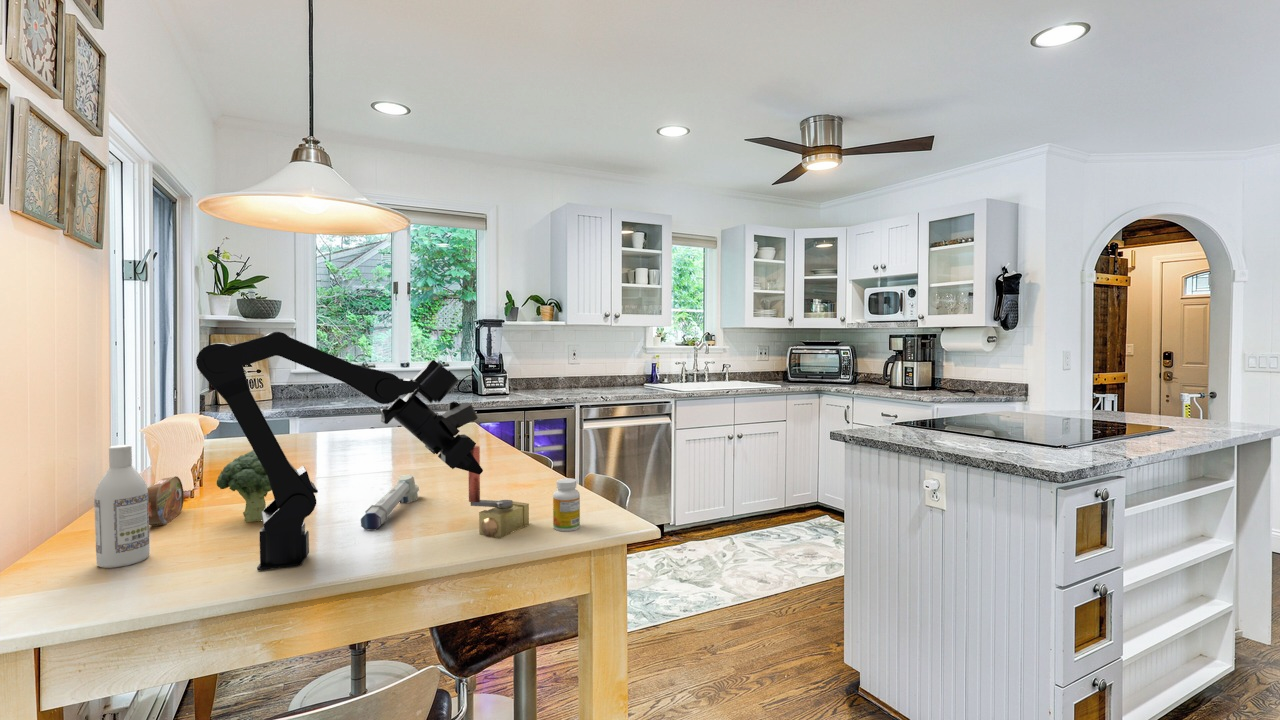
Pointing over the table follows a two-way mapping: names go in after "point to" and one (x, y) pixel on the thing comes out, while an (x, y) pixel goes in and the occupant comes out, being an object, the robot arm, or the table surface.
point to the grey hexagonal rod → (390, 502)
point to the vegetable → (247, 483)
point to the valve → (503, 520)
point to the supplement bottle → (566, 505)
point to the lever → (475, 488)
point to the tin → (165, 500)
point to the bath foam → (121, 512)
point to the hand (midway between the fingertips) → (479, 470)
